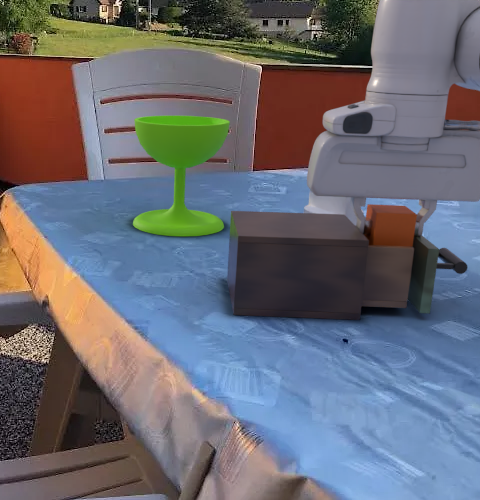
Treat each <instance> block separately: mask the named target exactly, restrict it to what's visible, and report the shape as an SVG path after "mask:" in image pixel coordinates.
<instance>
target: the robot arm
mask: <svg viewBox="0 0 480 500" xmlns="http://www.w3.org/2000/svg"><path fill="white" fill-rule="evenodd" d="M370 57H371V60H372V61H371V62H372V69H371V75H370V78H369V81H368V82H367V85H366V89H365V99H364V100H361V101H358V102H355V103H351V104H347V105H343V106H340V107H336V108H333V109H332V108H331V109H330V110H327V111H325V112H324V113H323V115H322V126H323V128H324V129H325V131H323V132H321V133H320V134H319V135H318V136H317V137H316V138H315V140H314V143H313V146H312V149H311V153H310V157H309V160H308V168H307V173H306V186H307V188H308V189H309V191H310V190H311V192H312V193H313V194H315V195H316V196H333V197H350V202H349V203H350V205H351V207H352V209H353V211H354V213H355V215H356V217H357V224H356V227H357V228H358V229H359V230H360V231H361V232H362V234H371V230H372V229H371V227H372V222H373V221H372V220H371V219H370V218H369V217H366V215H364V214H365V213H364V214H363V212H364V211H363V212H362V210H363V209H362V207H366V203H367V199H389V200H390V199H391V200H411V201H412V200H414V201H415V200H417V201H418V206H420V207H421V208H420V209H419V211H418V212H417V213H416V214H417V218H416V225H415V232H414V236H420V237H421V236H423V232H424V226H425V223H427V221H428V220H429V219H430V217H431V216H432V215H433V214H434V213H435V211H436V210H437V205H438V201H440V202H441V201H442V202H444V201H445V202H467V203H469V202H471V203H477V202H479V201H480V120H458V119H446V113H447V105H448V99H449V93H450V89H451V87H452V86H453V85H456V86H458V87H462V88H464V89H468V90H469V89H470V90H473V91H475V90H476V91H478V92H480V0H379V1H378V6H377V10H376V15H375V19H374V25H373V32H372V40H371V46H370ZM360 206H361V208H360Z"/></svg>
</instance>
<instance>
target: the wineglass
mask: <svg viewBox="0 0 480 500" xmlns="http://www.w3.org/2000/svg"><path fill="white" fill-rule="evenodd" d="M133 122H134V129H135V130H134V131H135V135H136V136H137V140H138V143H139V144H140V146H141V147H142V148H143V150H144V151H145V153H146V154H147V155H149V156H150V157H151V159H153V160H155V161H156V162H157V163H159V164H162V165H164V166H167V167H169V168H173V169H174V177H173V178H174V179H173V180H174V181H173V203H172V205H171V206H170V208H163V209H162V208H161V209H154V210H149V211H145V212H141V213H140V214H138V215H137V216H135V218H134V219H133V221H132V226H133V227H134V228H136V229H137V230H139V231H142V232H145V233H148V234H154V235H158V236H167V237H168V236H169V237H200V236H210V235H213V234H217V233H219V232H222V231H223V229H225V225H224V221H223V220H222V219H221V218H220V217H218V216H217V215H215V214H212V213H211V212H206V211H202V210H195V209H189V208H188V207H187V206H186V204H185V201H186V200H185V199H186V197H185V196H186V177H187V176H186V174H187V173H186V171H187V169H190V168H193V167H196V166H199V165H203V164H204V163H206V162H207V161H208V160H210V159H211V158H213V157H214V156H216V154H217V153H218V152H219V151H220V149H221V148H222V147H223V145H224V143H225V141H226V139H227V136H228V135H229V129H230V124H231V122H230V120H228V119H225V118H218V117H211V116H197V115H151V116H150V115H148V116H147V115H146V116H140V117H139V116H138V117H136V118H134V121H133Z"/></svg>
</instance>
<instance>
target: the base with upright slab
mask: <svg viewBox="0 0 480 500" xmlns="http://www.w3.org/2000/svg"><path fill="white" fill-rule="evenodd" d="M349 202H350V197H333V196H316V195H315V194H313V193H312V192H311V190H310V189H309V194H308V204H307V205H306V204H305V206H304V207H303V213H315V214H344V215H345V216H346V217H347V218H348V219H349V220H350V221H351V222H352V223H353V224H354V225H356V224H357V217H356V215H355V213H354V211H353V209H352V207H351V205H350V203H349ZM360 208H361V210H362V212H363V214H365V212H364V210H363V209H362V207H361V206H360Z"/></svg>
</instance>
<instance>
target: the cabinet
mask: <svg viewBox="0 0 480 500" xmlns="http://www.w3.org/2000/svg"><path fill="white" fill-rule="evenodd" d="M229 221H230V222H229V238H228V239H229V240H228V241H229V242H228V256H227V260H228V261H227V271H226V273H227V274H226V282H227V283H226V284H227V287H228V292H229V298H230V304H231V309H232V314H233V316H254V317H277V318H278V317H279V318H299V319H300V318H301V319H326V320H327V319H328V320H350V321H351V320H353V321H360V320H361V315H362V314H361V313H362V307H363V306H362V297H363V289H364V280H365V271H366V263H367V254H368V246H369V240H368V239H367V238H366V237H365V236H364V235H363V234H362V232H361V231H360V230H359V229H358V228H357V227H356V226H355V225H354V224H353V223H352V222H351V221H350V220H349V219H348V218H347V217H346V216H345V215H344V214H315V213H304V212H284V211H283V212H282V211H281V212H280V211H279V212H278V211H251V210H250V211H249V210H230V220H229Z"/></svg>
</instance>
